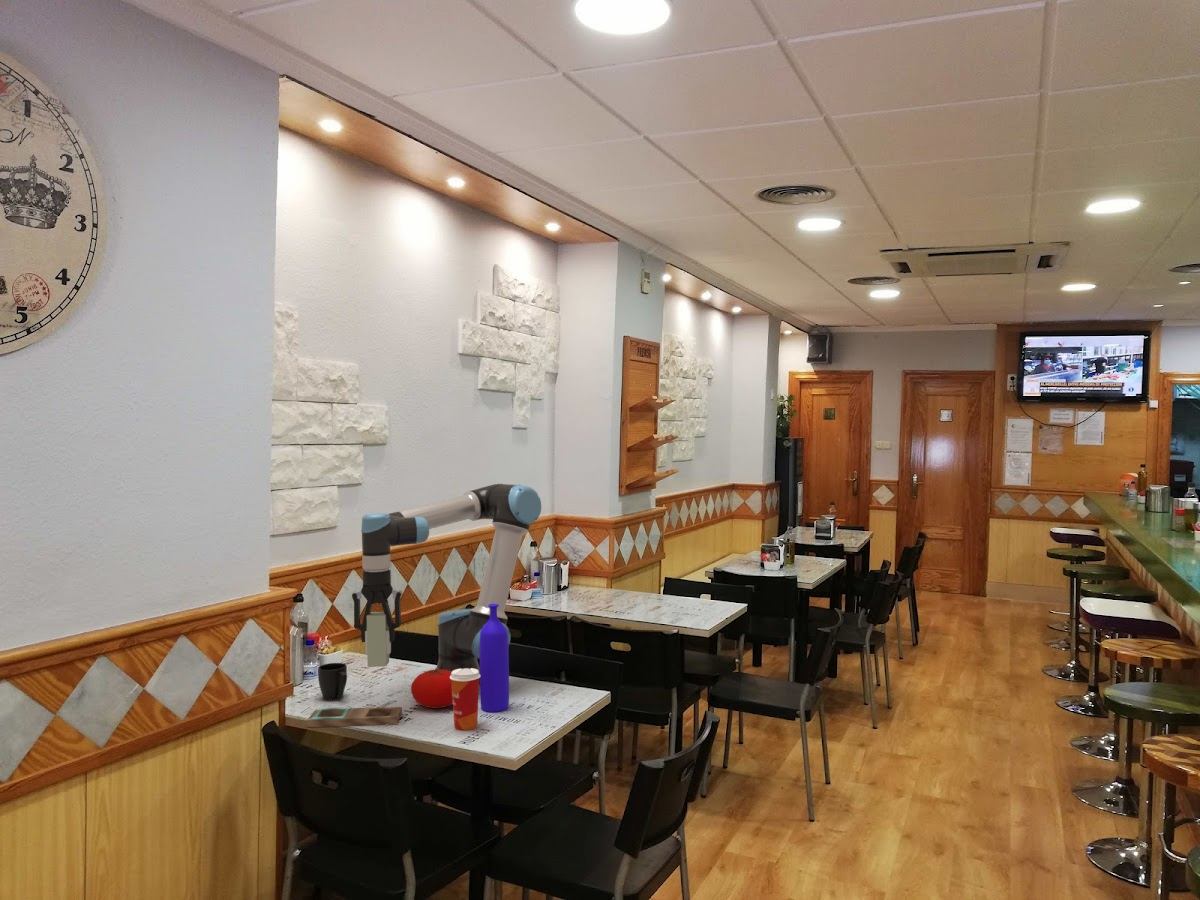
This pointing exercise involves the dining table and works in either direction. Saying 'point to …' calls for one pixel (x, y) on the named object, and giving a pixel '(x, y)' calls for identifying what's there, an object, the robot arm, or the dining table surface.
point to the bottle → (494, 664)
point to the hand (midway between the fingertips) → (378, 653)
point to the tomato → (433, 688)
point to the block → (377, 639)
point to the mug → (332, 680)
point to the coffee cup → (465, 697)
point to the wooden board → (354, 716)
